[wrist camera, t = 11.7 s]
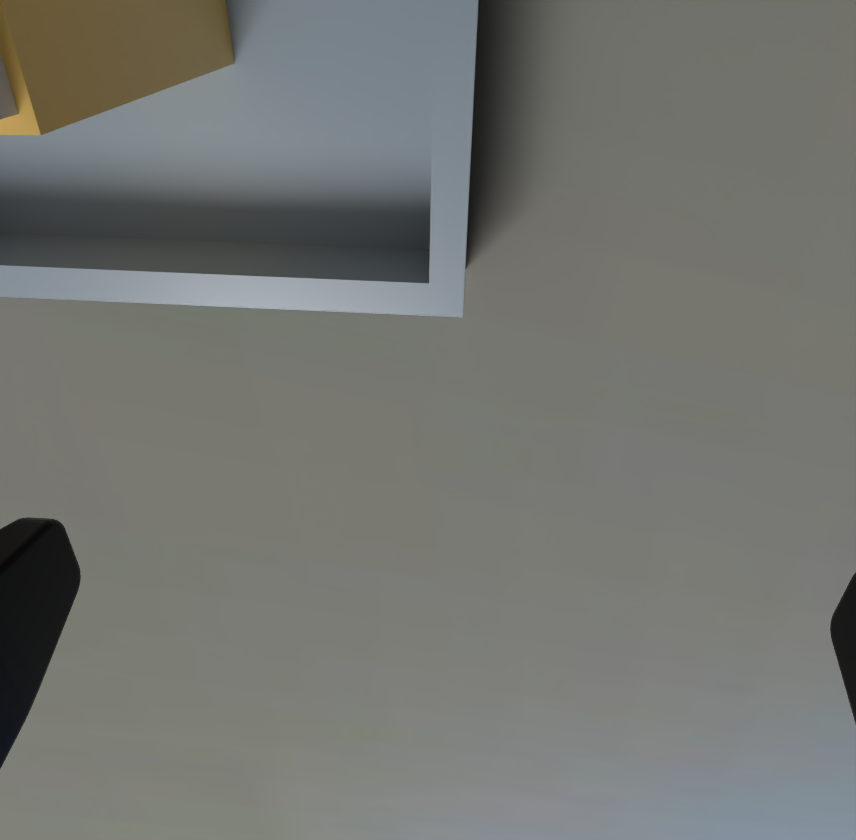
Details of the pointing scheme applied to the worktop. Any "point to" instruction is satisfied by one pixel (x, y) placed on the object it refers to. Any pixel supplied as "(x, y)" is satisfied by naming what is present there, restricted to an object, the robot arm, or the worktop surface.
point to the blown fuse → (101, 55)
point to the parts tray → (266, 172)
